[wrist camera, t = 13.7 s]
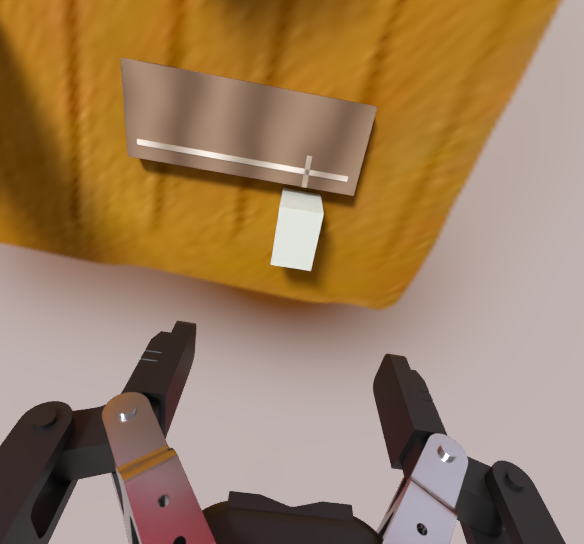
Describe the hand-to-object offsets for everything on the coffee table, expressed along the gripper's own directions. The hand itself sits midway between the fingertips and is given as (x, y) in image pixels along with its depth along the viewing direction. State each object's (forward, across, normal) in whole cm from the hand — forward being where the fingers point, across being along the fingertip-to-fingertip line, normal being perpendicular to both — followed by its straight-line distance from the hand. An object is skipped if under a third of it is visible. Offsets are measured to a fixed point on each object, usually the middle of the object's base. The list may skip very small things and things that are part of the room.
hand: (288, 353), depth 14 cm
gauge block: (+24, -1, +3) cm, 25 cm away
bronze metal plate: (+24, +5, -5) cm, 25 cm away
